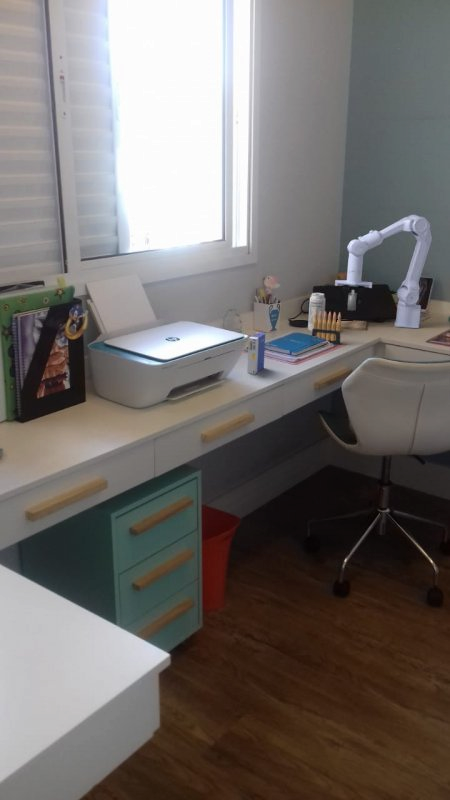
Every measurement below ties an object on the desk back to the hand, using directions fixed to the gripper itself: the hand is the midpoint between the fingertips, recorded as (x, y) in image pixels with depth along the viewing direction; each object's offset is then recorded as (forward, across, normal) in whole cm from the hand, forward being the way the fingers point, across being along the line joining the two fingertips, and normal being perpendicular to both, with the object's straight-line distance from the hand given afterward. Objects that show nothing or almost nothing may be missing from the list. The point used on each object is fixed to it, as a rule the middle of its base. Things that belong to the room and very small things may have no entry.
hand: (351, 304), depth 296 cm
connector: (+2, 0, 0) cm, 2 cm away
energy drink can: (+9, -13, -14) cm, 21 cm away
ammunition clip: (+9, -8, -29) cm, 31 cm away
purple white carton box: (+9, -28, -70) cm, 76 cm away
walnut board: (+9, 0, 0) cm, 9 cm away
